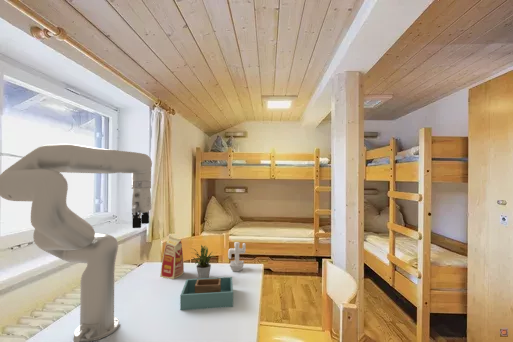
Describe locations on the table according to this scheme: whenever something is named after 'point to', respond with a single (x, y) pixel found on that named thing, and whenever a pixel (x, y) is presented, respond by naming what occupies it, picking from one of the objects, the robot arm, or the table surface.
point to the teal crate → (206, 295)
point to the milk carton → (172, 259)
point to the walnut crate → (208, 285)
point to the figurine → (236, 256)
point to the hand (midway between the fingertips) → (141, 225)
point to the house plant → (203, 263)
